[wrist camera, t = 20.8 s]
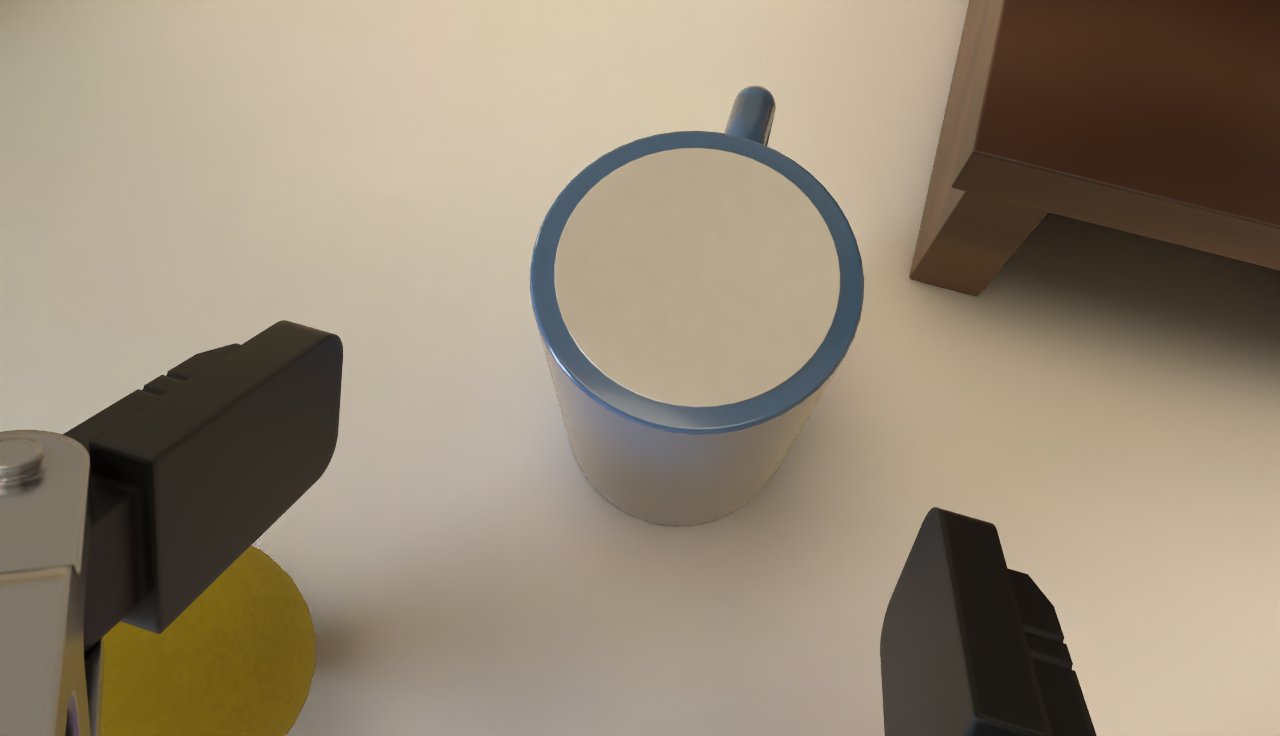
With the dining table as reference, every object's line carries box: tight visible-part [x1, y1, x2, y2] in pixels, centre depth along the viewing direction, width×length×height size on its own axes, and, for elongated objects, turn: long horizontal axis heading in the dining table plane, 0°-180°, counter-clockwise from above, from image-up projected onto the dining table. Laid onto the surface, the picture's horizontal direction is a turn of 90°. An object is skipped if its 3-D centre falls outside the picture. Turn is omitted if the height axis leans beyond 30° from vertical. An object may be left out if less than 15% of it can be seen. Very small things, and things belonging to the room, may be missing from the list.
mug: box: [530, 86, 864, 526], centre depth 21 cm, size 8×6×9 cm
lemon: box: [101, 546, 315, 736], centre depth 19 cm, size 6×6×8 cm
